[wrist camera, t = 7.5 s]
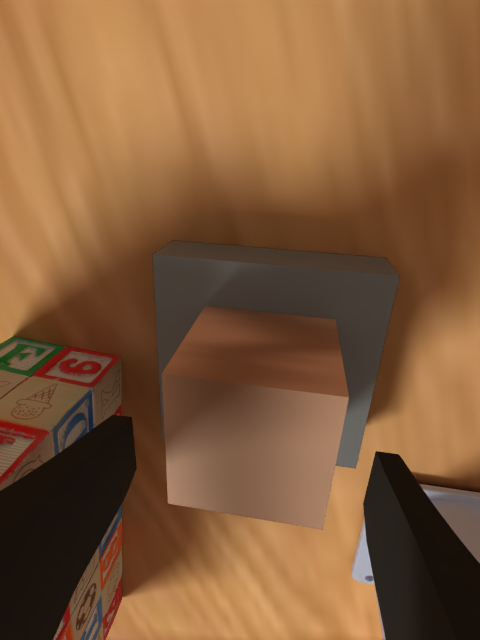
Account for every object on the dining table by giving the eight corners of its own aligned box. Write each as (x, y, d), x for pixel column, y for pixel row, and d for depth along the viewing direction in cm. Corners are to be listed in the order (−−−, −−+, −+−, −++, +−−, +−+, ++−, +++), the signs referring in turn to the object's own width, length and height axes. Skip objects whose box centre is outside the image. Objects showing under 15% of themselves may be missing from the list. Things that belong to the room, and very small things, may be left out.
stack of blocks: (125, 597, 29) (11, 880, 18) (48, 578, 29) (-110, 840, 18) (122, 352, 20) (-115, 617, 9) (10, 331, 20) (-350, 552, 9)
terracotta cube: (335, 319, 14) (349, 397, 10) (318, 425, 16) (322, 529, 12) (205, 305, 15) (161, 373, 10) (204, 409, 17) (167, 503, 12)
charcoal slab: (383, 254, 16) (399, 276, 13) (348, 424, 20) (355, 468, 17) (176, 237, 17) (152, 254, 14) (180, 402, 21) (162, 439, 18)
